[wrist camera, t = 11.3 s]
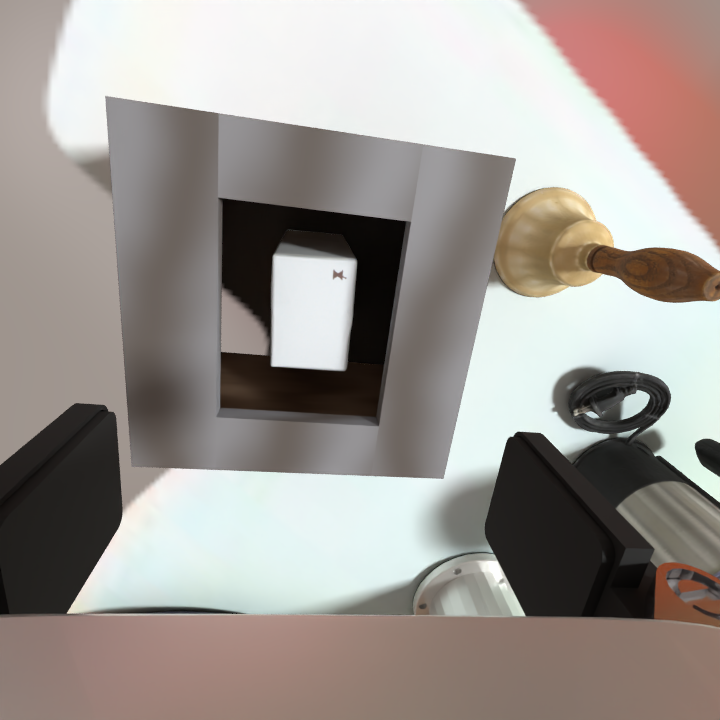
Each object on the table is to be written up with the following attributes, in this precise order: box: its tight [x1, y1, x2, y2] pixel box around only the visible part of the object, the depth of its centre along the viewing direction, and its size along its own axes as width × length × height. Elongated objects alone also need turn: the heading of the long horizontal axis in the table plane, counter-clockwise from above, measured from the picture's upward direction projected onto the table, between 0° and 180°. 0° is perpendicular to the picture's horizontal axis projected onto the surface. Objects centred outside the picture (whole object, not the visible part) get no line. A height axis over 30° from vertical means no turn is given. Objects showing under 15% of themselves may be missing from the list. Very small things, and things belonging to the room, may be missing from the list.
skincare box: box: [270, 230, 357, 371], centre depth 27 cm, size 6×4×12 cm
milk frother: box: [569, 371, 720, 580], centre depth 35 cm, size 14×16×15 cm
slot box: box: [105, 96, 516, 479], centre depth 26 cm, size 16×16×14 cm
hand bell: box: [494, 187, 720, 303], centre depth 27 cm, size 8×8×16 cm
